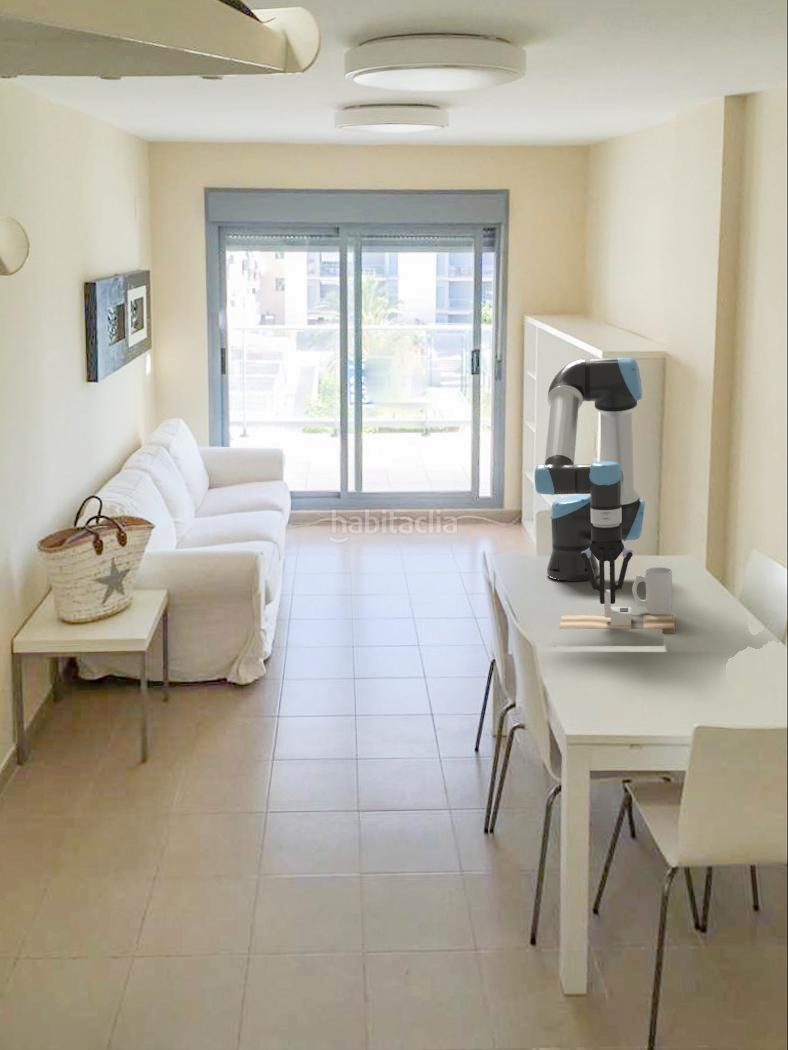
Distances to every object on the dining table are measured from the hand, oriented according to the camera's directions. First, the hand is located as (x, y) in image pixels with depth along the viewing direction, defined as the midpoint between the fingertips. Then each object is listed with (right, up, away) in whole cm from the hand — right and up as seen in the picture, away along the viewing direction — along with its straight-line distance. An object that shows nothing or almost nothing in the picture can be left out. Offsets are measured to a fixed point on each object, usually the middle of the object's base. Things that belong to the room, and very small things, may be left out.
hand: (607, 616), depth 314 cm
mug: (+13, -1, +7) cm, 15 cm away
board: (+2, -3, 0) cm, 3 cm away
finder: (+3, -1, -1) cm, 4 cm away
